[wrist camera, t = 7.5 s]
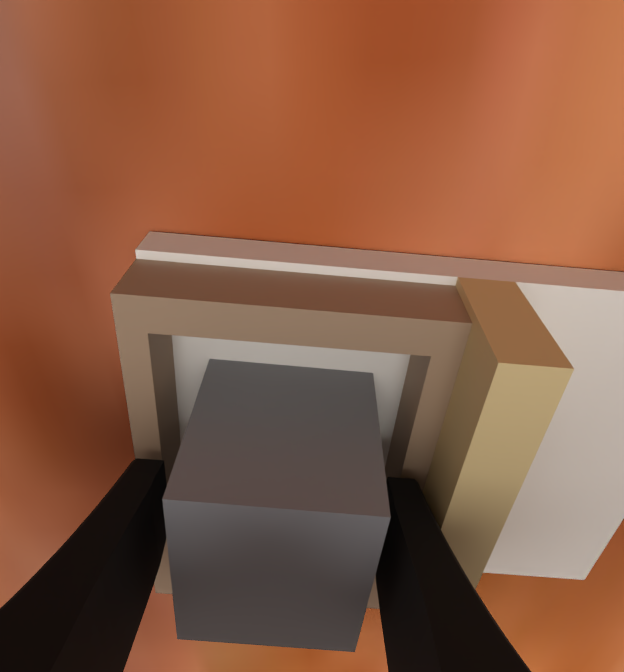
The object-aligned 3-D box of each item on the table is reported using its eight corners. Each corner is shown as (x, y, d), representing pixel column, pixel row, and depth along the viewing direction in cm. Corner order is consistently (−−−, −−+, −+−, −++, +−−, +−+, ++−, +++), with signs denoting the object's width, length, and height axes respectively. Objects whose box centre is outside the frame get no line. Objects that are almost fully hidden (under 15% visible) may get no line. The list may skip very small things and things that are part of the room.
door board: (730, 281, 11) (896, 395, 8) (571, 551, 17) (632, 686, 14) (149, 231, 11) (73, 328, 8) (178, 522, 17) (139, 652, 13)
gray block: (348, 500, 14) (354, 652, 11) (212, 489, 14) (177, 638, 11) (373, 372, 12) (390, 517, 9) (209, 358, 12) (162, 498, 8)
